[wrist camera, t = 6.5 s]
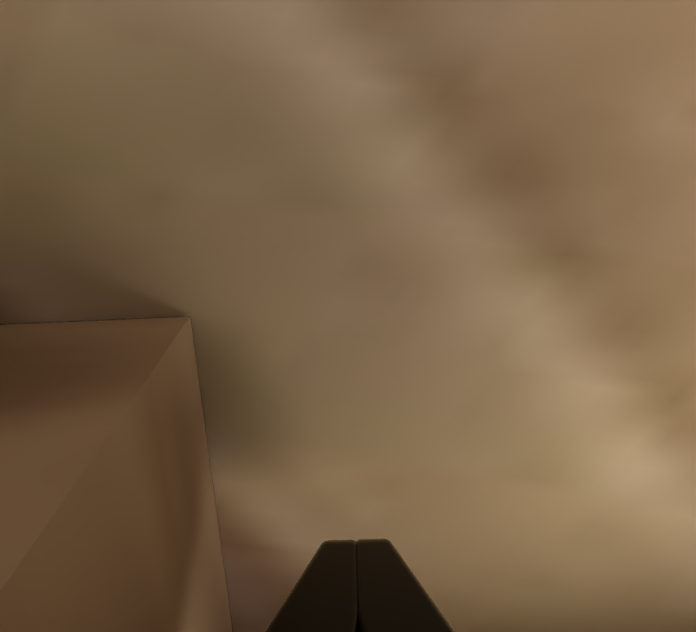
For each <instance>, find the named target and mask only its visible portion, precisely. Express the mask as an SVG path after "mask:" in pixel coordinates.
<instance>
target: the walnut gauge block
mask: <svg viewBox="0 0 696 632" xmlns="http://www.w3.org/2000/svg"><path fill="white" fill-rule="evenodd" d="M0 632H233V629H232V622H231V615H230V607H229V600H228V592H227V585H226V578H225V570H224V563H223V556H222V548H221V541H220V534H219V526H218V519H217V511H216V504H215V497H214V489H213V482H212V475H211V467H210V460H209V453H208V445H207V438H206V430H205V423H204V416H203V408H202V401H201V394H200V386H199V379H198V372H197V364H196V357H195V349H194V342H193V335H192V327H191V320H190V317H170V318H147V319H124V320H101V321H78V322H55V323H32V324H9V325H0Z"/></svg>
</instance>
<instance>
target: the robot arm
mask: <svg viewBox="0 0 696 632" xmlns="http://www.w3.org/2000/svg"><path fill="white" fill-rule="evenodd" d="M266 632H454V631H453V629H452V628H451V627H450V625H449V624H448V622H447V621H446V619H445V618H444V617H443V615H442V614H441V612H440V611H439V610H438V608H437V607H436V605H435V604H434V603H433V601H432V600H431V598H430V597H429V596H428V594H427V593H426V591H425V590H424V588H423V587H422V586H421V584H420V583H419V581H418V580H417V579H416V577H415V576H414V574H413V573H412V572H411V570H410V569H409V567H408V566H407V565H406V563H405V562H404V560H403V559H402V557H401V556H400V555H399V553H398V552H397V550H396V549H395V548H394V546H393V545H392V544H391V542H390V541H389V540H387V539H360V540H357V541H354V540H328V541H325V542H323V543H322V544H321V546H320V547H319V549H318V550H317V552H316V554H315V555H314V557H313V558H312V560H311V561H310V563H309V565H308V566H307V568H306V569H305V571H304V573H303V574H302V576H301V577H300V579H299V580H298V582H297V584H296V585H295V587H294V588H293V590H292V592H291V593H290V595H289V596H288V598H287V599H286V601H285V603H284V604H283V606H282V607H281V609H280V610H279V612H278V614H277V615H276V617H275V618H274V620H273V622H272V623H271V625H270V626H269V628H268V629H267V631H266Z"/></svg>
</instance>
